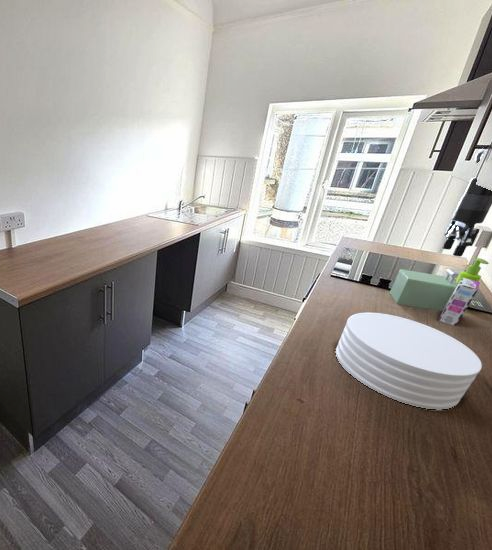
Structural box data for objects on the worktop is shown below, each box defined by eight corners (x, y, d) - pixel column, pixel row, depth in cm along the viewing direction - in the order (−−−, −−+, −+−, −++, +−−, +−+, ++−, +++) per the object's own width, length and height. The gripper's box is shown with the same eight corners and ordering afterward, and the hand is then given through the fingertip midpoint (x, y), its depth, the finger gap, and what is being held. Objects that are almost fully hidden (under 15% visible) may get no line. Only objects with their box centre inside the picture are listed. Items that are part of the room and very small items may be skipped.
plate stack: (321, 365, 88) (333, 333, 83) (350, 331, 105) (362, 303, 100) (452, 430, 69) (478, 394, 64) (463, 376, 85) (484, 344, 81)
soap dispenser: (452, 304, 125) (477, 261, 117) (442, 297, 131) (465, 255, 123) (470, 307, 124) (496, 263, 115) (459, 299, 130) (483, 257, 121)
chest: (434, 301, 128) (446, 278, 123) (445, 313, 118) (458, 289, 114) (389, 292, 134) (399, 270, 130) (396, 303, 125) (407, 280, 120)
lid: (449, 278, 123) (455, 267, 121) (462, 290, 114) (469, 277, 111) (399, 270, 130) (404, 259, 128) (407, 280, 120) (413, 268, 118)
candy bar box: (455, 329, 108) (478, 289, 101) (436, 323, 111) (458, 284, 105) (458, 319, 115) (480, 281, 108) (440, 313, 118) (461, 276, 111)
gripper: (500, 212, 94) (475, 260, 100) (477, 205, 105) (455, 248, 112) (468, 210, 97) (446, 256, 103) (448, 203, 108) (429, 245, 115)
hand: (451, 252), depth 107 cm, fingers open, 8 cm apart
